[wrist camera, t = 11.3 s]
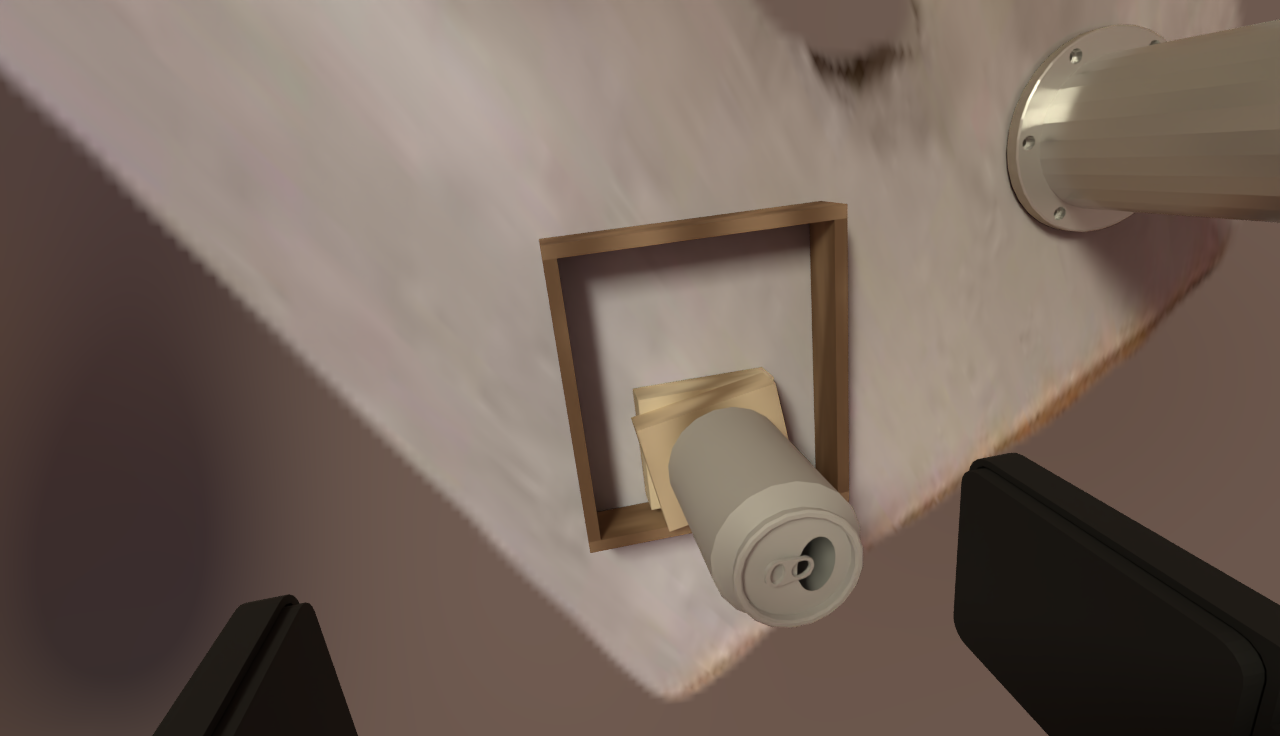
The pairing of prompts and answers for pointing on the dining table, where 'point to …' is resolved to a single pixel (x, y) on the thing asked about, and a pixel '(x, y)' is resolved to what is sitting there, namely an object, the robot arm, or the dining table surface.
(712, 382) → the offcut stack
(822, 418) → the wooden frame
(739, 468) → the can
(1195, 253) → the dining table surface
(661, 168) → the dining table surface
